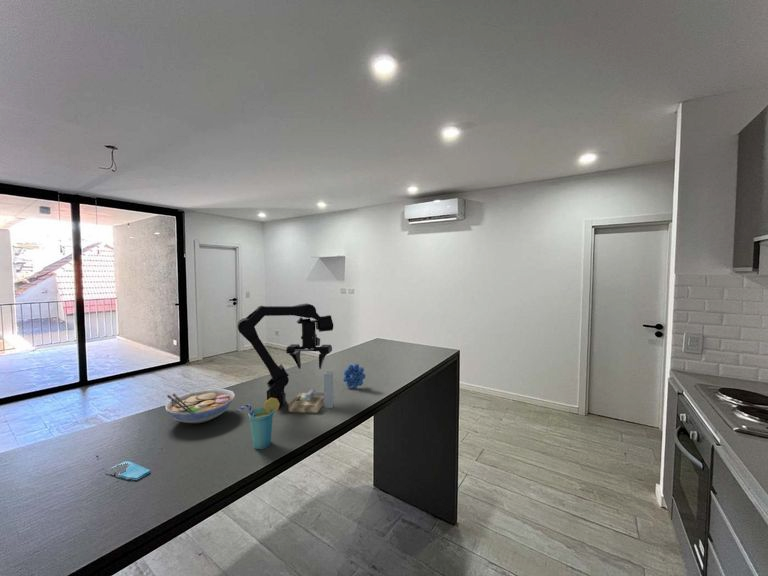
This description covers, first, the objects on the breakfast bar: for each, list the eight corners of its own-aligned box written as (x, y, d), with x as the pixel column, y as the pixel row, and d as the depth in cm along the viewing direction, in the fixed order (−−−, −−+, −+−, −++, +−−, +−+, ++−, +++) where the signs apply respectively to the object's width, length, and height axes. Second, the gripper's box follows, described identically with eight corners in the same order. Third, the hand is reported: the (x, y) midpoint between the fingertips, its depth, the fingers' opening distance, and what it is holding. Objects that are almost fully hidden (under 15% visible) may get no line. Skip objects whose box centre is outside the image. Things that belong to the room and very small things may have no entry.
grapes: (369, 387, 153) (369, 362, 152) (362, 392, 146) (362, 366, 146) (348, 383, 157) (347, 359, 157) (340, 388, 151) (340, 363, 151)
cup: (246, 461, 94) (244, 410, 93) (231, 452, 98) (229, 404, 97) (285, 440, 105) (284, 395, 104) (270, 433, 109) (269, 390, 109)
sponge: (127, 483, 83) (151, 468, 88) (103, 471, 88) (127, 457, 93) (128, 488, 83) (152, 473, 88) (104, 476, 88) (128, 462, 94)
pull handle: (306, 408, 129) (305, 374, 128) (311, 402, 135) (310, 370, 134) (330, 409, 128) (330, 375, 127) (334, 403, 134) (334, 370, 133)
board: (288, 411, 126) (288, 404, 126) (299, 399, 138) (299, 392, 138) (316, 412, 125) (316, 405, 125) (325, 400, 137) (325, 393, 137)
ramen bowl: (247, 418, 121) (246, 397, 120) (177, 442, 104) (175, 418, 104) (221, 401, 138) (220, 382, 137) (157, 419, 121) (156, 397, 121)
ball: (309, 399, 129) (305, 408, 130) (312, 395, 133) (309, 404, 134) (300, 395, 130) (296, 404, 130) (303, 392, 134) (300, 400, 134)
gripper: (335, 329, 145) (336, 363, 146) (295, 329, 147) (296, 362, 148) (327, 334, 134) (328, 371, 135) (285, 334, 136) (286, 370, 137)
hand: (310, 368), depth 139 cm, fingers open, 9 cm apart
